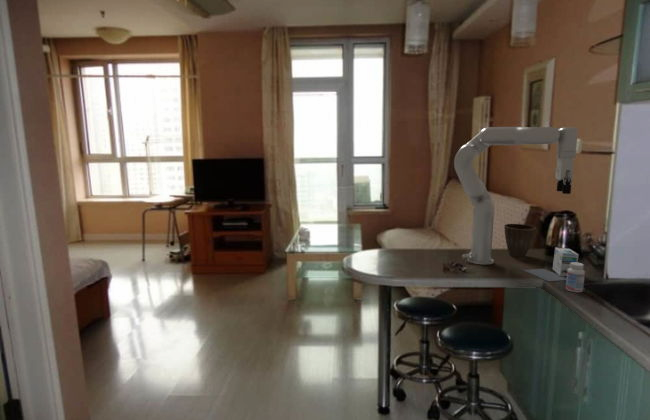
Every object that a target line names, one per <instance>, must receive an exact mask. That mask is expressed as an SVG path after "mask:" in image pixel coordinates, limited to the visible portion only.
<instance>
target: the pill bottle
mask: <svg viewBox="0 0 650 420" xmlns="http://www.w3.org/2000/svg"><path fill="white" fill-rule="evenodd" d="M570 267H571V268H569V269H568V270H567V276H566V278H567V279H566V280H565V289H566V290H567V291H569V292H571V293H582V292H583V291H584V284H585V275H586V271H585V270H584V267H585V264H583V263H581V262H579V261H578V262H571V263H570Z"/></svg>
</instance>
